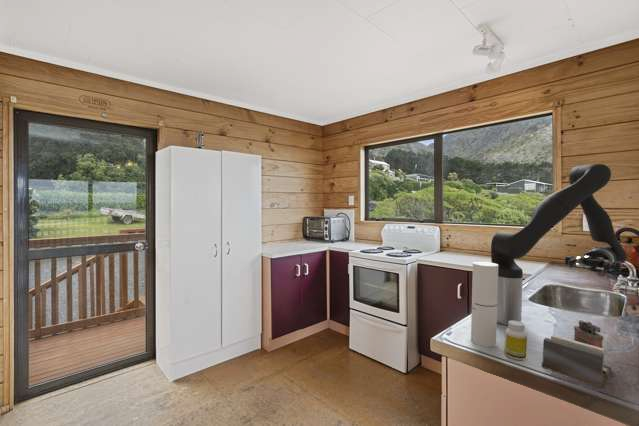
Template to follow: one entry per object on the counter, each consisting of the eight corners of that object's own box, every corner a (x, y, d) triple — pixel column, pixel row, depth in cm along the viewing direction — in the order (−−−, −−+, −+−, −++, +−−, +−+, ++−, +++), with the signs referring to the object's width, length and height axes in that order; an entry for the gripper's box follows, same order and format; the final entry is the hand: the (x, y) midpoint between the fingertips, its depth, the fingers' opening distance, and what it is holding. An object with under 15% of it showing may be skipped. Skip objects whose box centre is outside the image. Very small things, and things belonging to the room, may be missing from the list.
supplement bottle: (529, 361, 90) (530, 327, 89) (508, 359, 91) (509, 325, 90) (521, 352, 95) (522, 320, 94) (501, 350, 96) (502, 318, 95)
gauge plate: (551, 355, 90) (552, 334, 90) (606, 372, 81) (607, 349, 81) (550, 357, 89) (551, 336, 89) (605, 374, 80) (606, 351, 80)
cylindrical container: (486, 348, 97) (488, 267, 96) (466, 339, 104) (467, 262, 102) (501, 343, 101) (503, 264, 99) (480, 335, 107) (482, 260, 106)
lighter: (569, 350, 96) (570, 317, 96) (580, 350, 97) (581, 317, 96) (594, 364, 88) (595, 328, 88) (605, 363, 89) (607, 328, 88)
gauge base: (554, 353, 94) (555, 328, 94) (610, 371, 85) (611, 343, 84) (541, 366, 87) (542, 339, 87) (601, 387, 77) (602, 357, 77)
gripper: (573, 246, 119) (561, 251, 109) (626, 252, 108) (618, 257, 98) (573, 266, 119) (560, 273, 109) (625, 274, 108) (616, 281, 98)
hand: (587, 265), depth 103 cm, fingers open, 8 cm apart
